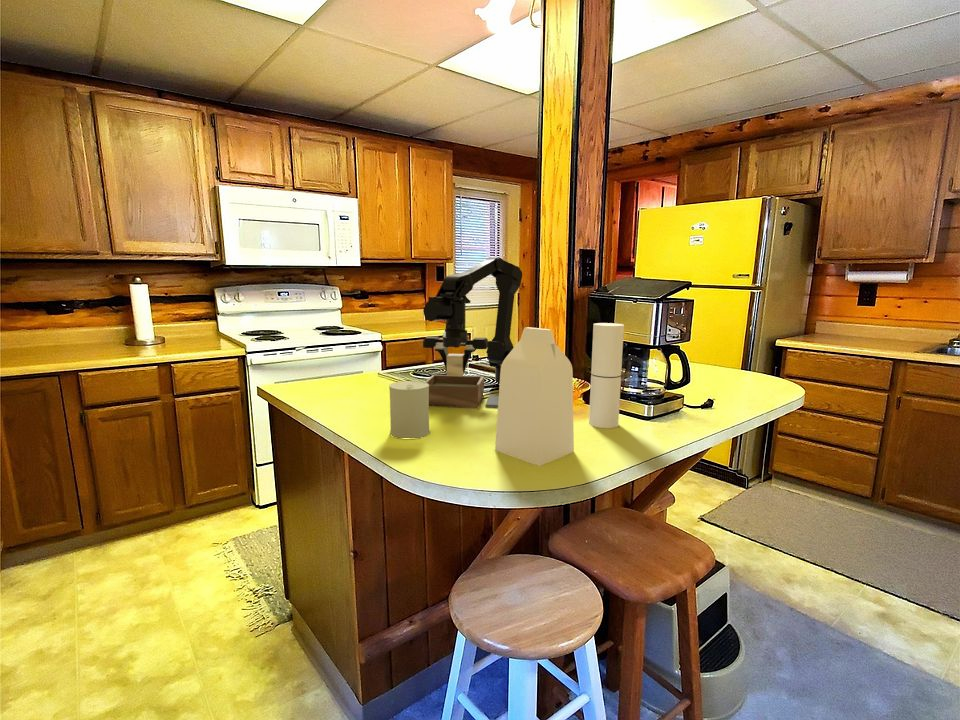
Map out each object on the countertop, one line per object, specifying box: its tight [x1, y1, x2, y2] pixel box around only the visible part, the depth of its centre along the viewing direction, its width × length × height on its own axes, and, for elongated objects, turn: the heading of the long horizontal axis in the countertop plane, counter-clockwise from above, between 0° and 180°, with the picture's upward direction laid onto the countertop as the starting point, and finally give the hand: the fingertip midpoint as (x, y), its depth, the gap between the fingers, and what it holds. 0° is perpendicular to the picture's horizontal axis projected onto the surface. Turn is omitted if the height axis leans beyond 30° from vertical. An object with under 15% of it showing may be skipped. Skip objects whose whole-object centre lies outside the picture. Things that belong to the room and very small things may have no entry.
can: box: [388, 380, 431, 439], centre depth 115 cm, size 9×9×12 cm
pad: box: [485, 393, 499, 409], centre depth 145 cm, size 12×8×1 cm, turn 173°
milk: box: [494, 327, 575, 467], centre depth 103 cm, size 12×12×26 cm
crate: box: [424, 374, 485, 409], centre depth 146 cm, size 15×16×6 cm
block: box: [446, 353, 465, 377], centre depth 148 cm, size 5×5×6 cm
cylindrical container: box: [588, 322, 625, 429], centre depth 122 cm, size 7×7×25 cm
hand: (455, 371), depth 148 cm, fingers closed on block, 5 cm apart
